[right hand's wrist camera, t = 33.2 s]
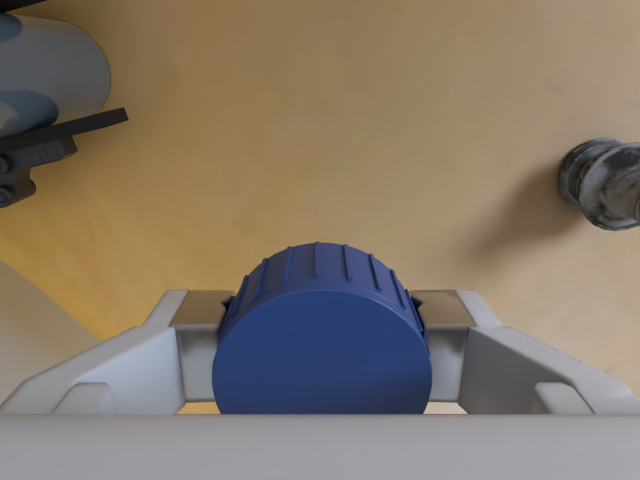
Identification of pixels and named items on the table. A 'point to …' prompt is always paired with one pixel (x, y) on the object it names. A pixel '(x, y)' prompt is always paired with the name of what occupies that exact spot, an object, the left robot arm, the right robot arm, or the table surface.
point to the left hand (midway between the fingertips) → (90, 51)
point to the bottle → (48, 73)
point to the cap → (321, 338)
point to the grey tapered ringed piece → (604, 183)
